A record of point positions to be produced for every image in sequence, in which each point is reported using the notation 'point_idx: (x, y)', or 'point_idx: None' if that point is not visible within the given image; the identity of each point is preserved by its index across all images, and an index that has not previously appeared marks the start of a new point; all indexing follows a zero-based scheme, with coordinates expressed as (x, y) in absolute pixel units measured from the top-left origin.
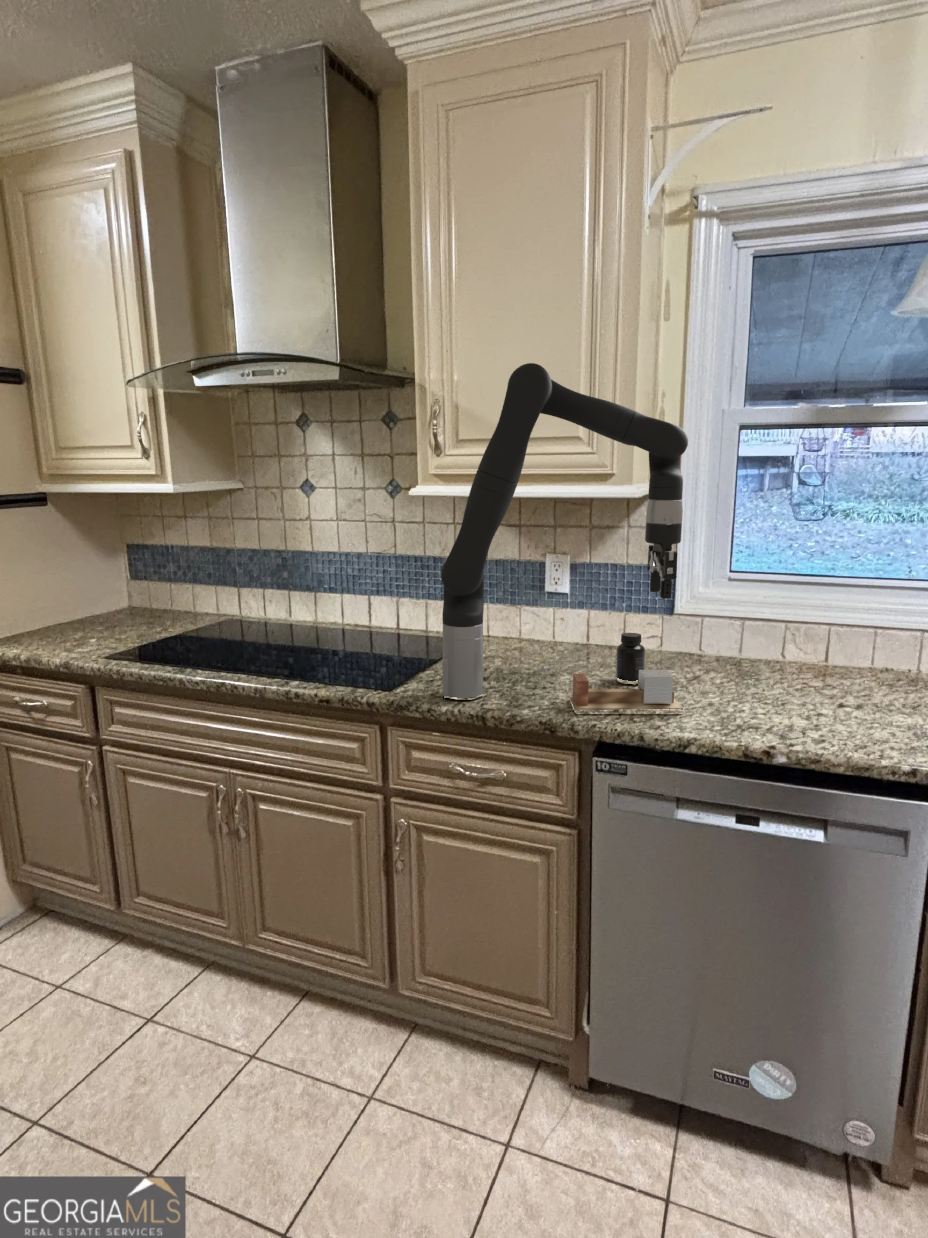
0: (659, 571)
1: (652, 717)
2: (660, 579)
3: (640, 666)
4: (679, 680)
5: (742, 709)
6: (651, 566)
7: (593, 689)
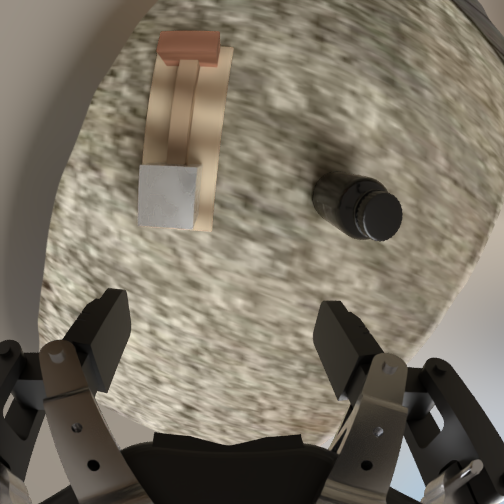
0: (75, 391)
1: (133, 170)
2: (331, 382)
3: (326, 214)
4: (325, 282)
5: (170, 317)
6: (355, 410)
7: (193, 73)
